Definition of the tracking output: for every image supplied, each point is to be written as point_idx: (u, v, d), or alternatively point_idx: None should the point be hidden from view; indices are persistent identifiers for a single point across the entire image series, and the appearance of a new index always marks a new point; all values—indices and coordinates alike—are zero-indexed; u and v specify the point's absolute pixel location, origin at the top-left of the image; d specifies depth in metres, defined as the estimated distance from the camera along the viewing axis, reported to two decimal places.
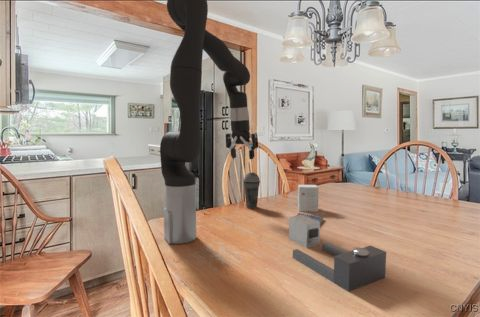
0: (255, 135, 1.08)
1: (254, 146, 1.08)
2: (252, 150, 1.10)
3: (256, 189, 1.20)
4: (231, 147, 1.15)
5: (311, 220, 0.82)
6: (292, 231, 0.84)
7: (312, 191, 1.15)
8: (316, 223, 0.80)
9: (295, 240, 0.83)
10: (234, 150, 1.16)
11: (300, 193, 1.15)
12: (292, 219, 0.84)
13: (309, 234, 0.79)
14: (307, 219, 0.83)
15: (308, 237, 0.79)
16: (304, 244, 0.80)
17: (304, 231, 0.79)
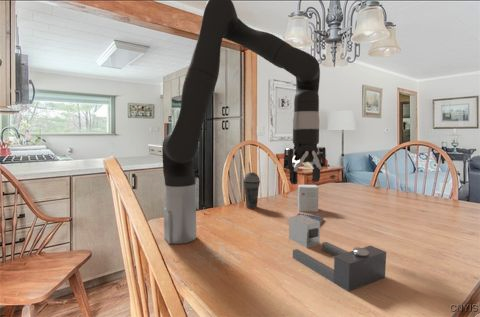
0: (287, 151, 0.78)
1: None
2: None
3: (256, 189, 1.20)
4: None
5: (311, 220, 0.82)
6: (292, 231, 0.84)
7: (312, 191, 1.15)
8: (316, 223, 0.80)
9: (295, 240, 0.83)
10: (315, 171, 0.84)
11: (300, 193, 1.15)
12: (292, 219, 0.84)
13: (309, 234, 0.79)
14: (307, 219, 0.83)
15: (308, 237, 0.79)
16: (304, 244, 0.80)
17: (304, 231, 0.79)
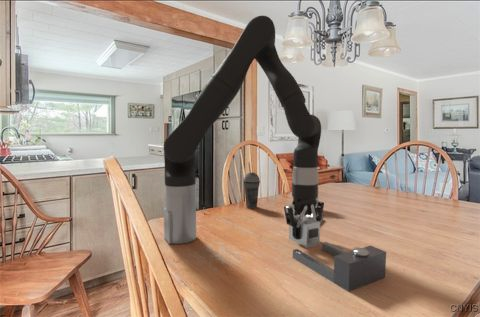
0: (286, 209, 0.80)
1: None
2: (292, 226, 0.82)
3: (256, 189, 1.20)
4: None
5: (311, 220, 0.82)
6: None
7: None
8: (316, 223, 0.80)
9: (295, 240, 0.83)
10: None
11: None
12: None
13: (309, 234, 0.79)
14: (307, 219, 0.83)
15: (308, 237, 0.79)
16: (304, 244, 0.80)
17: (304, 231, 0.79)
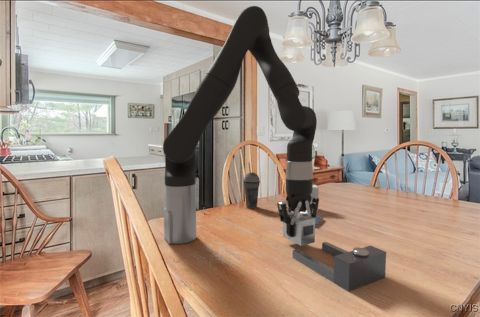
0: (279, 206, 0.76)
1: None
2: (286, 223, 0.78)
3: (256, 189, 1.20)
4: None
5: (306, 217, 0.78)
6: None
7: (312, 191, 1.15)
8: (311, 220, 0.77)
9: (289, 238, 0.80)
10: None
11: None
12: None
13: (304, 231, 0.75)
14: (302, 215, 0.79)
15: (303, 234, 0.76)
16: (298, 242, 0.76)
17: (299, 228, 0.76)
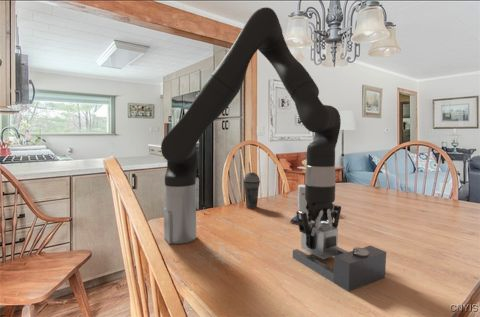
0: (299, 215, 0.69)
1: None
2: (306, 234, 0.71)
3: (256, 189, 1.20)
4: None
5: (327, 227, 0.71)
6: (305, 239, 0.74)
7: None
8: (334, 230, 0.70)
9: (309, 250, 0.73)
10: None
11: (300, 193, 1.15)
12: None
13: (326, 243, 0.68)
14: (322, 225, 0.72)
15: (325, 247, 0.68)
16: (319, 255, 0.69)
17: (321, 239, 0.69)
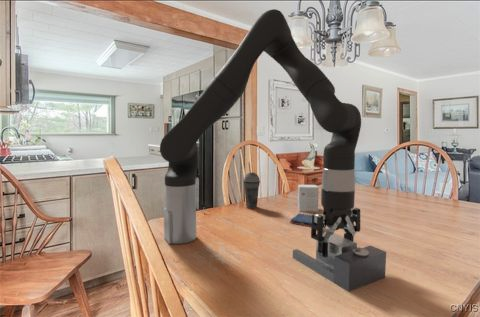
0: (315, 218, 0.63)
1: None
2: (318, 241, 0.65)
3: (256, 189, 1.20)
4: None
5: (345, 241, 0.66)
6: None
7: (312, 191, 1.15)
8: (352, 245, 0.64)
9: None
10: (348, 237, 0.69)
11: (300, 193, 1.15)
12: None
13: None
14: (340, 239, 0.67)
15: None
16: None
17: None
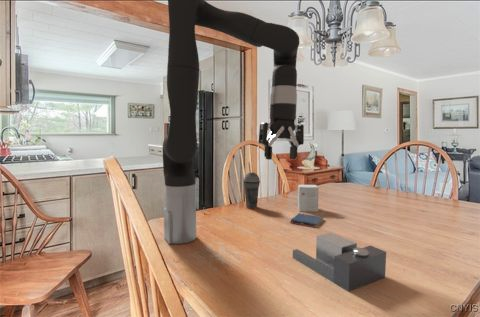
0: (262, 125, 0.77)
1: None
2: None
3: (256, 189, 1.20)
4: None
5: (345, 241, 0.66)
6: (320, 254, 0.69)
7: (312, 191, 1.15)
8: (352, 245, 0.64)
9: None
10: (292, 148, 0.82)
11: (300, 193, 1.15)
12: (321, 239, 0.68)
13: None
14: (340, 239, 0.67)
15: None
16: None
17: None
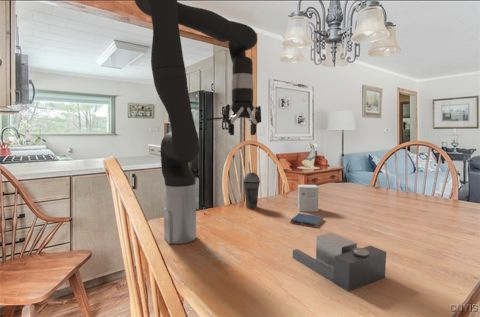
0: (224, 106, 0.94)
1: None
2: (228, 124, 0.96)
3: (256, 189, 1.20)
4: None
5: (345, 241, 0.66)
6: (320, 254, 0.69)
7: (312, 191, 1.15)
8: (352, 245, 0.64)
9: None
10: (252, 126, 1.00)
11: (300, 193, 1.15)
12: (321, 239, 0.68)
13: None
14: (340, 239, 0.67)
15: None
16: None
17: None
